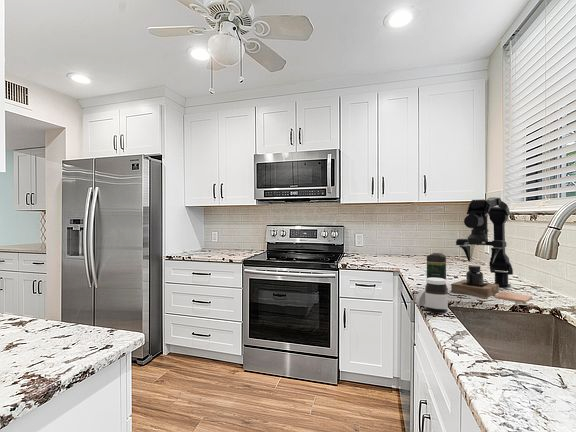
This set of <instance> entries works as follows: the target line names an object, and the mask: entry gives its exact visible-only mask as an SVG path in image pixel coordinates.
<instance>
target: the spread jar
mask: <svg viewBox="0 0 576 432" xmlns="http://www.w3.org/2000/svg"><path fill="white" fill-rule="evenodd" d="M425 280H426V282H425V283H426V284H425V287H424V288H422V289H421V290H420V291H419V292H418V293H417V296H416V298H415V303H416V304H417V305H418V306H420V307H421V306H422V307H423V306H425V309H426V311H428V312H432V313H439V314H440V313H441V314H442V313H446V312H448V308H449V307H448V306H449V302H448V301H449V295H448V294H449V293H448V292H449V291H448V286H447V278H446V279H443V278H427V277H426V279H425Z"/></svg>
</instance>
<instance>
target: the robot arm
mask: <svg viewBox="0 0 576 432" xmlns="http://www.w3.org/2000/svg"><path fill="white" fill-rule="evenodd" d="M510 213H511V212H510V208H509V206H508V204H507V203H506V202H504V201H502V199H501V198H500V197H495V196H494V197H488V198H485V199H472V200H471V201H470V202H469V204H468V208H467V211H466V217H464V219H463V224H464V225H465V226H466V228H469V229H471V233H470V234H469V235H468V236H467V238H457V239H456V241H455V245H456V246H458V247H459V248H461V249H462V250H463V252H464V254H465V256H466V259H467V261H468V262H471V245H473V246H474V245H476V246H492V247H491V248H490V250H491V257H490V258H489V260H490V261H489V271H490V273H491V274H492V273H493V274H494V283H493V284H499V287H502V288H503V287H504V288H508V287H511V286H512V284H510V283H509V276H510V275H514V268H513V266H512V264H511V262H510V257H509V256H508V254H506V248H507V241H506V235H505V234H506V233H505V232H506V230H505V226H506V223H507V221H508V220H509V216H510ZM488 218H489V220H490V222H491V223H492V226H493V240H492V241H491V240H490V241H489V238H488V236H489V233H488V232H489V229H488V223H489V222H488Z"/></svg>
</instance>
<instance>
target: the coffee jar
mask: <svg viewBox="0 0 576 432" xmlns="http://www.w3.org/2000/svg"><path fill="white" fill-rule="evenodd" d="M427 278H443V279H446V280H447V256H446V255H445V254H443V253H439V252H432V253H430V254H428V255H427V256H426V279H427Z"/></svg>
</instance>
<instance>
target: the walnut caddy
mask: <svg viewBox="0 0 576 432" xmlns="http://www.w3.org/2000/svg"><path fill="white" fill-rule="evenodd" d="M450 289H451V290H450V291H451V292H452V293H457V292H458V293H457V294H463V293H465V294H464V295H469V294H470V295H469V296H475V295H476V296H477V297H483V298H489V297H492V296H495V295H497V294H499V293H500V286H499V284H494V283H492V282H491V283H490V282H484V281H483V287H477V286H470V285H467V284H466V279H462V280H460V281H456V282H453V283H451V284H450ZM476 296H475V297H476Z"/></svg>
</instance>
